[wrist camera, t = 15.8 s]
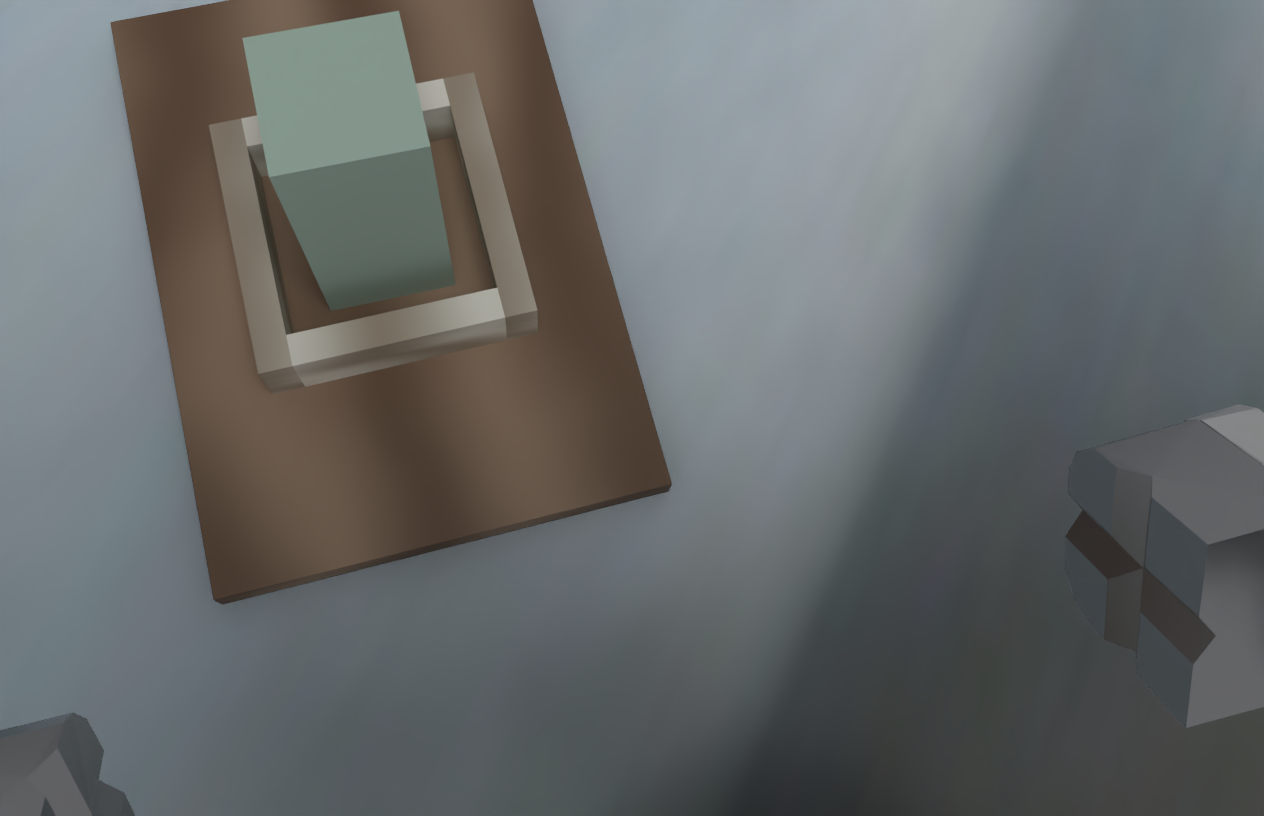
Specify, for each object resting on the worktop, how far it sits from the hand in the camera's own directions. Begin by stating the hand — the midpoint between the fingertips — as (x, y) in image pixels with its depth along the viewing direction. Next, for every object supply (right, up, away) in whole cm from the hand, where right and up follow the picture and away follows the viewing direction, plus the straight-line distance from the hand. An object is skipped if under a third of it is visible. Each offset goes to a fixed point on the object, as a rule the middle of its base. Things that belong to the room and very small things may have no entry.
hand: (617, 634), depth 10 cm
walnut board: (-8, +7, +30) cm, 32 cm away
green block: (-8, +7, +29) cm, 31 cm away
